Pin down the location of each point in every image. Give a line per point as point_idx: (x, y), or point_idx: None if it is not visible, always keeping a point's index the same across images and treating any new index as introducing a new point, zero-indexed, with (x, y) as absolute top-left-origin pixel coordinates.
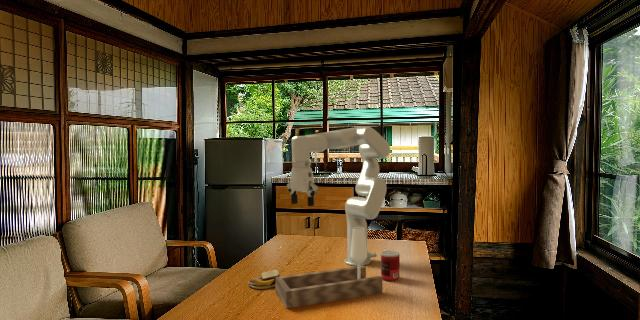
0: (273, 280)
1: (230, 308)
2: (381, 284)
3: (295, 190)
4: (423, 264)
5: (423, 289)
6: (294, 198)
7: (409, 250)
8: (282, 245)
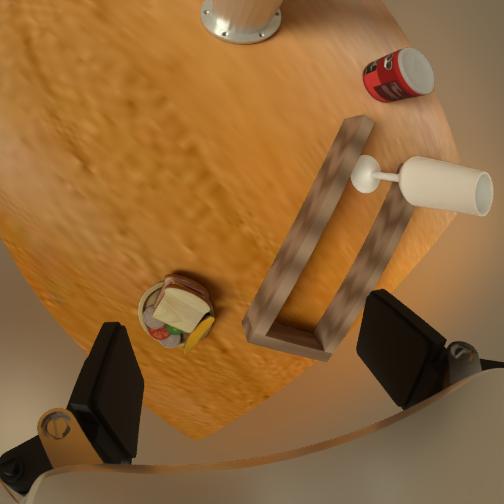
0: (214, 318)
1: (240, 398)
2: None
3: None
4: None
5: (437, 112)
6: (126, 407)
7: None
8: None
